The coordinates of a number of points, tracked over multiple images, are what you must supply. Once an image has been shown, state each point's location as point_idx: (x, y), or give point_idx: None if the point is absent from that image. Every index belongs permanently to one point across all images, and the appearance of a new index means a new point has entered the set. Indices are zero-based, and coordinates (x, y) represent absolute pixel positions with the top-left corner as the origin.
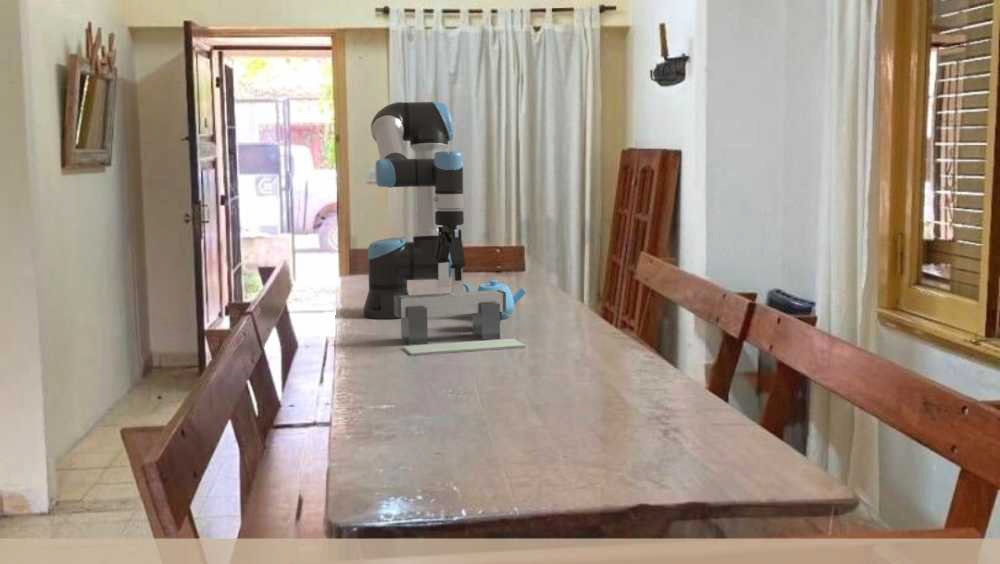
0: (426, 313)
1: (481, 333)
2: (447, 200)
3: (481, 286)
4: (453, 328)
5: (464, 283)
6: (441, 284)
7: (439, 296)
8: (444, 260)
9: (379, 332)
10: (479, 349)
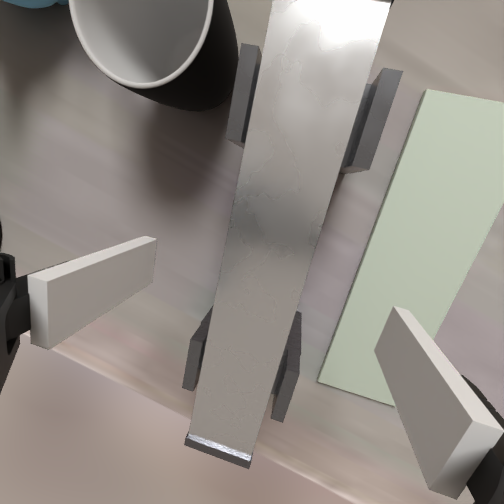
0: (299, 363)
1: (340, 171)
2: None
3: None
4: (157, 160)
5: None
6: (147, 276)
7: (283, 342)
8: (9, 308)
9: (132, 327)
10: (472, 259)
